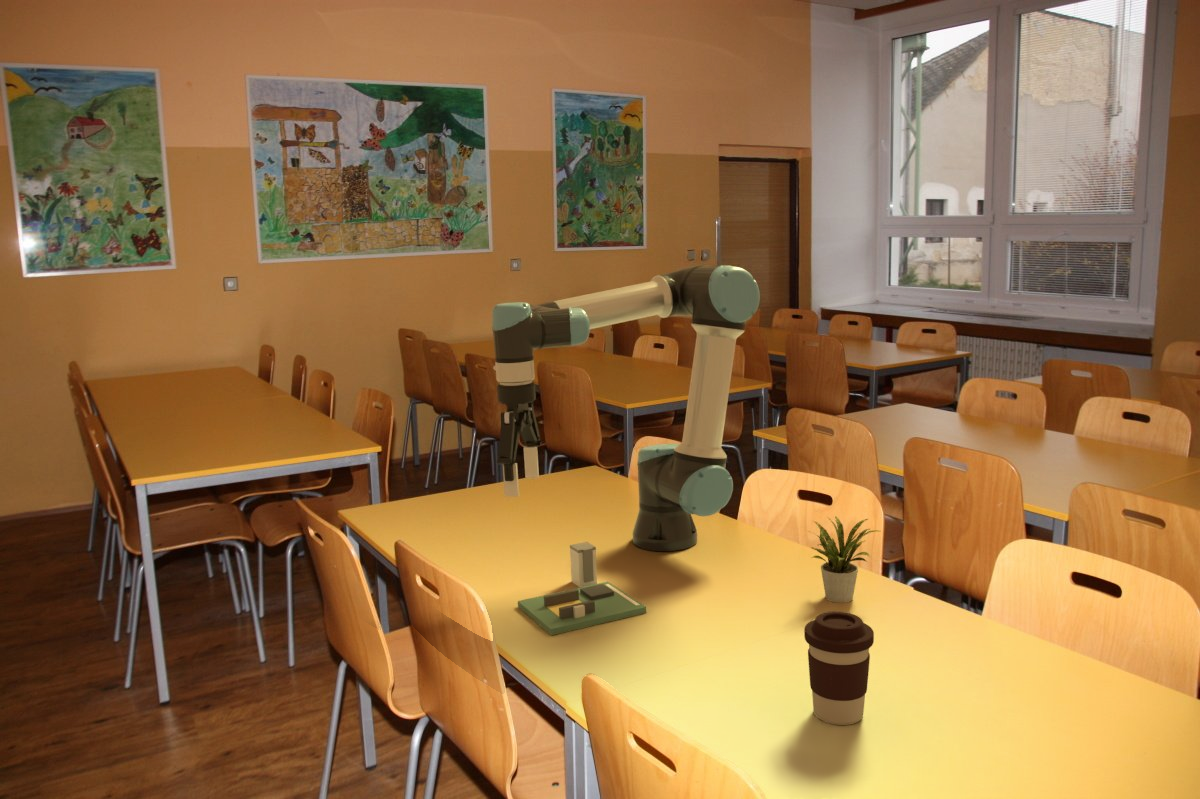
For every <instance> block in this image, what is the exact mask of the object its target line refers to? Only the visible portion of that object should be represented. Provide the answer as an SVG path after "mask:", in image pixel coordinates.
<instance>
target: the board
mask: <svg viewBox="0 0 1200 799" xmlns="http://www.w3.org/2000/svg"><path fill="white" fill-rule="evenodd" d="M517 608H519V609H520V610H521V611H522V612H523V613H524V614H526V615H527V616H528V617H529V618H530V619H532V621H534V622H535V623H536V624H538V626H540V627H541V628H542V629H543V630H544V631H546V633H548V634H549V635H550V636H554V635H559V634H562V633H567V632H571V631H572V632H573V631H575V630H580V629H584V628H588V627H593V626H596V625H601V624H604V623H610V622H615V621H617V620H621V619H622V620H623V619H625V618H626V619H627V618H631V617H635V616H637V615H638V616H639V615H643V614H647V606H645V605H644V604H643V603H641V601H638V599H635V598H634V597H632V596H631V595H629V594H627V593H626V592H624V591H623V590H621V589H619V587H616V586H615V585H614V584H612V583H610V582H609V581H605V582H599V583H597V584H594V585H589V586H585V587H576V588H572V589H567V590H563V591H557V592H553V593H549V594H544V595H540V596H536V597H531V598H525V599H521V600H517Z"/></svg>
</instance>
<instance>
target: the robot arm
mask: <svg viewBox="0 0 1200 799" xmlns="http://www.w3.org/2000/svg"><path fill="white" fill-rule="evenodd" d="M760 296H761V295H760V289H759V284H758V282H757V281H756V280H755V278H754V277H753V275H752V274H751V273H750V272H749V271H747V270H746V269H744V268H742V267H740V266H739V267H738V266H732V265H725V264H723V265H722V264H721V265H706V264H705V265H704V264H699V265H692V266H688V267H684V268H681V269H677V270H673V271H670V272H667V273H663V274H657V275H654V276H653V277H652V278H651V280H650V281H648V282H647V281H646V282H641V283H637V284H636V283H635V284H631V285H627V286H622V287H618V288H612V289H607V290H601V291H597V292H593V293H589V294H588V293H587V294H583V295H577V296H573V297H568V298H564V299H559V300H554V301H549V302H544V303H539V304H529V303H528V302H525V301H524V302H522V301H521V302H505V303H504V302H502V303H498V304H496V305H494V306H493V307H492V310H491V311H492V315H491V330H492V338H493V340H492V341H493V348H494V350H493V351H494V362H495V363H494V364H495V365H493V367H492V369H493V370H494V371H495V377H496V378H495V379H496V381H497V382H498V384H497V385H496V395H497V403H499V404H501V405H505V406H506V411H505V412H502V411H500V412H501V413H500V430H499V431H500V432H499V442H498V455H497V460H496V462H497V465H502V477H503V489H504V490H503V492H504V497H505V498H507V497H509V498H511V497H512V498H518V497H520V488H519V487H520V486H519V473H518V472H519V471H518V462H516V459H517V452H518V447H519V440H520V435H521V438H522V440H523V443H524V447H523V459H524V475H525V479H539V478H540V473H539V454H538V447H540V446H542V440H541V436H540V431H539V428H538V426H539V425H538V422H537V417H536V413H535V409H534V402H535V400H536V398H537V396H536V395H537V393H536V383H535V382H534V380H535V378H536V376H535V374H536V373H535V361H534V350H535V351H536V350H537V351H538V350H542V349H551V348H552V349H553V348H561V347H562V348H564V347H571V348H572V347H574V346H578V345H582V344H583V345H584V344H585V343H586V342H587V341H588V339H589V336H590V331H591V330H592V329H593V330H594V329H597V328H603V327H607V326H610V325H616V324H620V323H625V322H629V321H636V320H638V319H639V320H640V319H643V318H644V319H645V318H648V317H652V316H658V317H659V318H662V319H665V318H669V317H670V318H671V317H675V316H676V317H679V316H680V317H681V316H682V317H691V323H690V324H691V327H692V329H693V330H694V331H695V332H696V337H695V344H694V352H693V360H692V368H691V375H690V383H689V391H688V395H687V405H686V411H685V412H686V413H685V420H684V426H683V434H682V440H681V442H680V443H664V444H663V443H661V444H655V445H652V444H651V445H648V446H645V447H642V448H640V449H639V451H638V452H637V463H636V465H637V475H638V476H637V477H638V479H637V480H638V503H639V504H638V506H639V509H638V513H637V516H636V520H635V524H634V526H633V530H632V543H633V545H634V546H636V547H638V548H640V549H642V550H647V551H653V552H672V551H673V552H675V551H681V550H685V549H689V548H691V547H693V546H694V545H696V544H697V543H698V531H697V530H698V529H697V528H696V525H695V522H694V519H693V516H692V515H695V516H698V517H710V516H712V515H716V514H717V513H719V512H720V511H721V510H722V509H724V508H725V507H726V505H727V504H728V503H729V501H730V500H731V498H732V494H733V490H734V481H733V478H732V476H731V474H730V472H729V471H728V470H727V469H726V465H727V464H726V463H727V459H728V458H727V456H728V455H727V454H726V452H725V450H724V449H723V448H722V444H723V437H724V428H725V422H726V416H727V408H728V400H729V394H730V387H731V381H732V380H731V379H732V372H733V366H734V360H735V359H734V358H735V351H736V344H737V339H738V338H739V337H740V336H741V335H742V334H744V333H745V331H746V323H747V322H748V320H750V319H751V318H753V315H755V314H756V312H758V308H759V306H760V302H761V301H760V300H761V298H760Z"/></svg>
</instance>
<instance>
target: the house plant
mask: <svg viewBox="0 0 1200 799" xmlns="http://www.w3.org/2000/svg"><path fill="white" fill-rule="evenodd" d="M834 517H835V518H834V520H835V523H836V524H835V523H834V522H833V520H832V519H831V518H828V519H829V521H830V522H831V524H832V525H833V527H834V529H835V532H836V538H837V541H838V547H837V543H836V541H835V539H834V538H831V535H830V533H829V532H828V531H827V529H826V528H825V527H824V526H823V525H821V524H820V523H818V521H814V520H813V523H814V524H815V525H816V526H817V528H818V529H819V535H817V534H816V533H814V532H812V531H808V530H807V532H809V533H813V534H814V535H815V536H817V538H818V539H819V542H820V543H819V544H817V546H819V545H820V547H821V546H822V548H823V550H822V549H821V548H818V547H813V546H812V547H811V546H810V549H812V550H814V551H817V553H818V554H819V553H820V554H821V555H823V556H825V557H826V558H827V560H826V559H824V558H823V557H822V556H820V555H814V556H812V557H811V559H812V558H814V559H820V560H823V561H824V563H822V564H821V566H820V570H821V576H822V583H823V584H822V585H823V589H824V594H825V599H826V600H828V601H829V602H833V603H840V604H841V603H842V604H843V603H848V602H849V603H850V602H851V601H853V599H854V594H855V589H856V582H857V577H858V571H859V567H858V565H856V564H853V563H851V562H855V561H863V562H866V563H868V560H866V559H865V558H863V557H857V556H862V555H863V556H868V557H869V558H870V557H871V556H870V554H869V553H868V552H867V551H861V552H858V553H857V554H855V552H856V551H857V550H858V548H859V547H860V546H861V545H862V544H863V543H865V542H866V540H862V541H861V539H862V538H863V537H865V536H866V535H869V534H870V533H874V532H879V533H880V530H877V529H875V530H871V528H866V529H864V530H862V531H861V532H859V533H857V530H858V529H859V528H860V527H861V526H862V524H863V523H865V522H867V521H868V520H869V518H866V519H863V520H860V521H858V522H857V523H856V524H855V525H854V526H853V527H852V528H851V530H850V532H849V534H848V535H847V539H846V541H845V533H844V532H845V531H844V526H843V523H842V522H841V520H840V519H839V518H838V516H836V515H835V516H834ZM859 541H860V542H859ZM838 548H839V549H838ZM854 554H855V555H854ZM853 555H854V556H853Z"/></svg>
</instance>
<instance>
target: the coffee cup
mask: <svg viewBox="0 0 1200 799" xmlns="http://www.w3.org/2000/svg"><path fill="white" fill-rule="evenodd" d="M803 632H804V634H803V636H804V640H805V641H806V643H807V644H808V649H807V660H808V670H809V671H808V672H809V674H808V675H809V684H810V689H811V691H812V692H811V693H812V694H811V695H812V707H813V714H814V715H815V716H816V717H817V719H819V720H821V721H822V722H825V723H826V724H827V723H828V724H832V725H836V726H849V725H853V724H855V723H858V722H859V721H861V720H862V718H863V716H864V711H865V698H866V693H867V690H868V685H869V684H868V682H869V671H870V660H871V659H870V658H871V654H870V648H871V647H872V646H873V645H874V640H875V634H874V633H875V632H874V630H873V628H872V627H871V626H870V625H868V624H867V623H865V622H864V620H863V619H862V618H861V617H860V616H858V615H856V614H853V613H850V612H847V611H846V612H845V611H838V610H836V611H835V610H834V611H833V610H832V611H826V612H822V613H819V614H818V615H817V616H816V617H815V619H814V620H813V619H812V620H811V621H809V622H808V623H806V624H805V626H804V631H803Z"/></svg>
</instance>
